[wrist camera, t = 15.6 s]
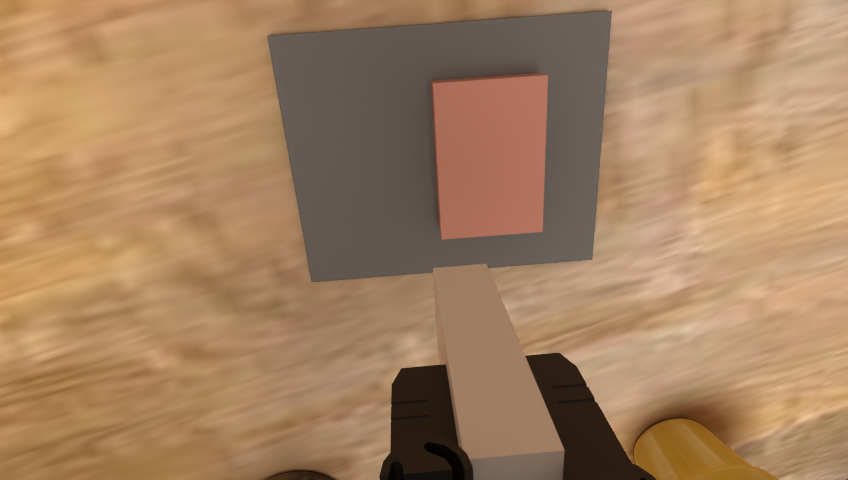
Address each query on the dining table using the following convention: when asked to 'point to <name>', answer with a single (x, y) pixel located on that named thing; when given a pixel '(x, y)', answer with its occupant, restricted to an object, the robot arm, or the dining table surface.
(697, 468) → the plant pot
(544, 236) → the mat
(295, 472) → the container
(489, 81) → the card box
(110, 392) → the dining table surface
